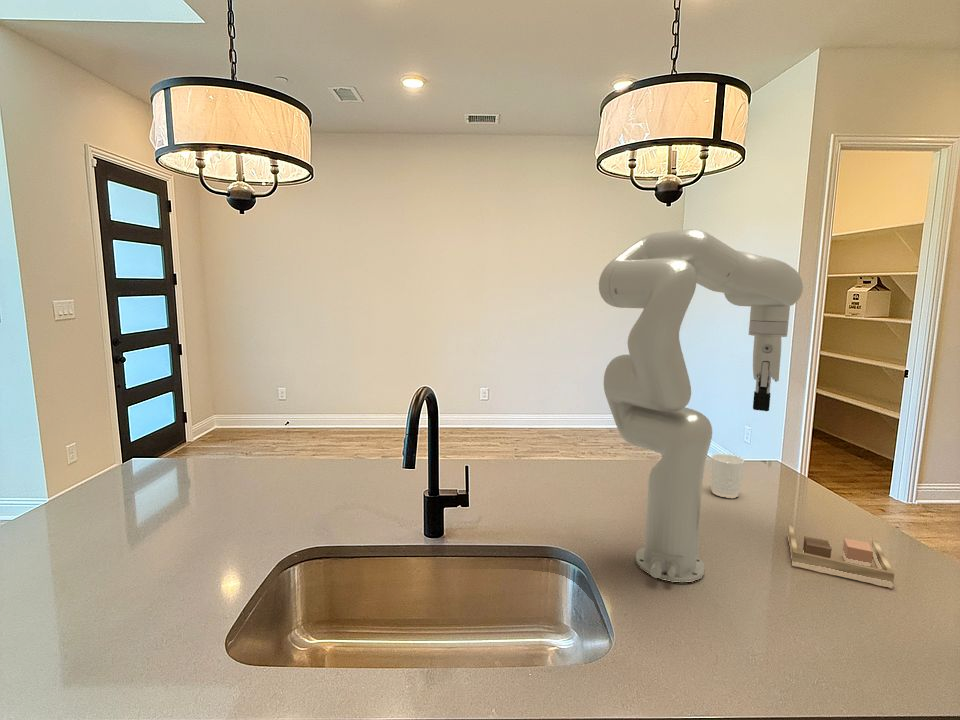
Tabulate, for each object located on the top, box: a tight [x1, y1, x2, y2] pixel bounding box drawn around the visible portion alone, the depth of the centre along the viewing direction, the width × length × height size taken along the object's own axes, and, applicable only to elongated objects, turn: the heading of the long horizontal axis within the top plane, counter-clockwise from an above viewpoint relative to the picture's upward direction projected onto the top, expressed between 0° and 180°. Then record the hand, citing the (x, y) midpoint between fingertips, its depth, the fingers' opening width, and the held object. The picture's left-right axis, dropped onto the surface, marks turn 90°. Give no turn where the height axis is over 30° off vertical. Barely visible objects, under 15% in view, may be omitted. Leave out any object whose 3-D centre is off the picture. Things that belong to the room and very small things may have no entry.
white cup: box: [710, 453, 745, 495], centre depth 134 cm, size 8×8×10 cm
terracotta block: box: [842, 537, 873, 564], centre depth 100 cm, size 4×4×4 cm
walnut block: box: [802, 536, 832, 559], centre depth 100 cm, size 4×4×4 cm
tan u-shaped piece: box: [787, 523, 895, 583], centre depth 101 cm, size 14×16×3 cm
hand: (760, 409), depth 114 cm, fingers closed
